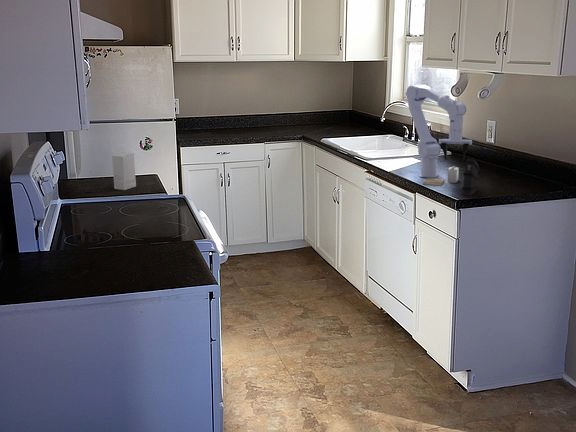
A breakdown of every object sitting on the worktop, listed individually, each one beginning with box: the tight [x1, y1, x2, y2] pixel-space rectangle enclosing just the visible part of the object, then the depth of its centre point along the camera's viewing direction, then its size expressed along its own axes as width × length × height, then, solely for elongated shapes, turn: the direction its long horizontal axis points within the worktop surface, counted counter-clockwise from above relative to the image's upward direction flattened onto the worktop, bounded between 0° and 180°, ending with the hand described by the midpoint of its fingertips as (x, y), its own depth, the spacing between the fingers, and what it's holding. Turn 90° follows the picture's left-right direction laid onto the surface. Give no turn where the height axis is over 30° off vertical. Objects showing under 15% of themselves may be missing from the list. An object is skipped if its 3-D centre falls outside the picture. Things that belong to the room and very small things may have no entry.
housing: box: [446, 165, 460, 184], centre depth 303 cm, size 6×4×7 cm, turn 159°
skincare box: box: [111, 152, 137, 191], centre depth 297 cm, size 8×7×16 cm
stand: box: [422, 177, 445, 187], centre depth 299 cm, size 8×8×2 cm
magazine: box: [461, 158, 481, 197], centre depth 278 cm, size 4×13×15 cm, turn 151°
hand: (454, 159), depth 301 cm, fingers open, 7 cm apart
